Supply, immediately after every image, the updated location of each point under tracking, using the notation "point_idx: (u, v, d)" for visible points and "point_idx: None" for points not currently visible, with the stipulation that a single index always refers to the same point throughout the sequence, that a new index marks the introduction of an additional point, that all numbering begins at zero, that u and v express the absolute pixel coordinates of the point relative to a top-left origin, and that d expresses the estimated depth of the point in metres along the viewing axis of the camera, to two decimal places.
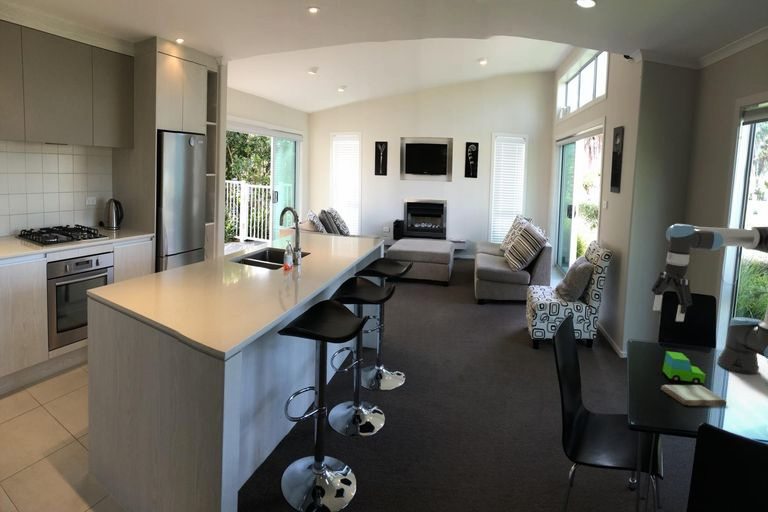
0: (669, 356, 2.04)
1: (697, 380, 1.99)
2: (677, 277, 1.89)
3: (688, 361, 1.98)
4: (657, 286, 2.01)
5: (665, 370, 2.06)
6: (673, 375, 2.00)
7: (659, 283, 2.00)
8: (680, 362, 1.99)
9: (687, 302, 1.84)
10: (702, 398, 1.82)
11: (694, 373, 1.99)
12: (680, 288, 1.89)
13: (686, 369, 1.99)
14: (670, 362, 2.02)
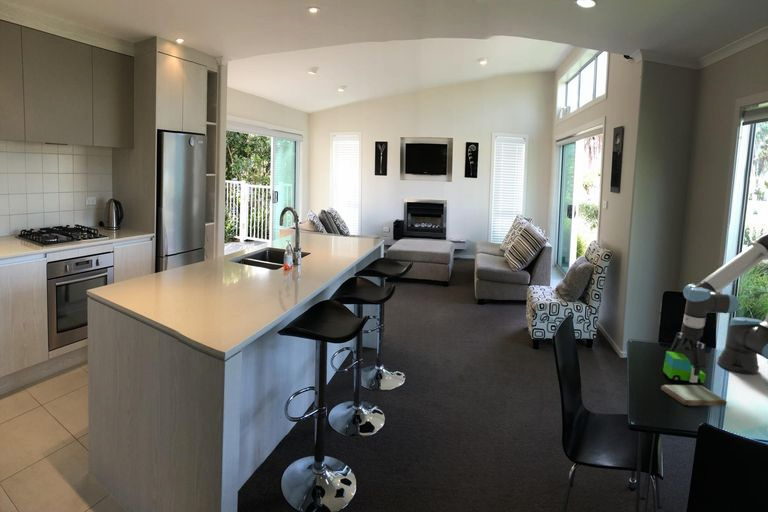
0: (669, 356, 2.03)
1: (697, 380, 1.99)
2: (694, 339, 1.97)
3: (688, 361, 1.98)
4: (674, 346, 2.08)
5: (665, 370, 2.06)
6: (673, 375, 2.00)
7: (676, 343, 2.07)
8: (680, 362, 1.99)
9: (701, 365, 1.93)
10: (702, 398, 1.82)
11: None
12: (695, 350, 1.97)
13: (686, 369, 1.99)
14: (671, 362, 2.02)
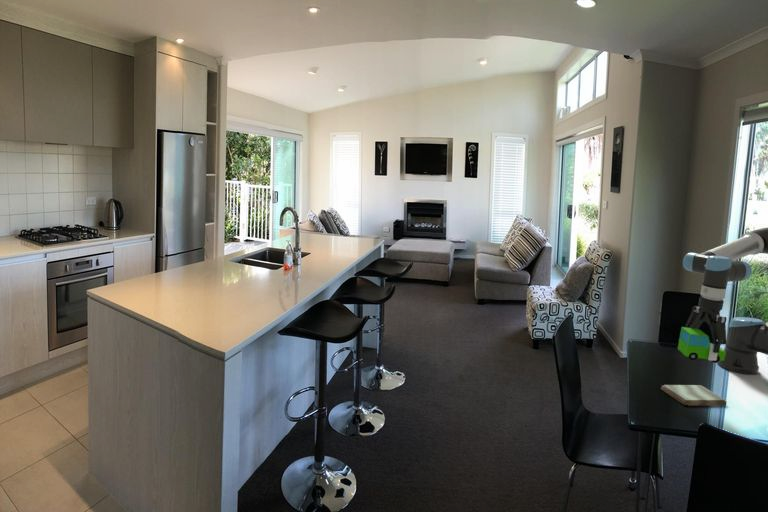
0: (685, 332, 1.84)
1: None
2: (713, 312, 1.78)
3: (707, 337, 1.79)
4: (691, 322, 1.89)
5: (680, 348, 1.87)
6: (690, 353, 1.81)
7: (692, 319, 1.88)
8: (697, 338, 1.80)
9: (721, 341, 1.74)
10: (702, 398, 1.82)
11: None
12: (715, 325, 1.78)
13: (704, 346, 1.80)
14: (687, 338, 1.82)
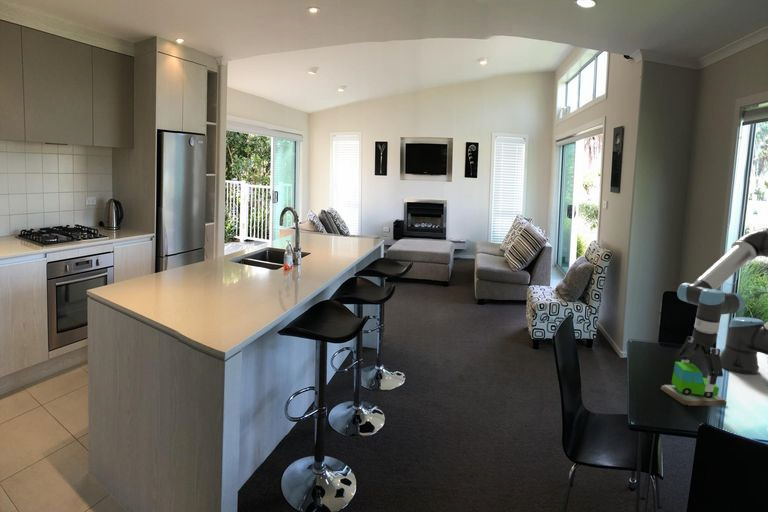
0: (679, 367, 1.87)
1: (709, 394, 1.82)
2: (706, 345, 1.80)
3: (700, 373, 1.82)
4: (683, 350, 1.92)
5: (674, 382, 1.89)
6: (684, 388, 1.84)
7: (686, 348, 1.91)
8: (691, 374, 1.82)
9: (717, 373, 1.75)
10: (702, 398, 1.82)
11: None
12: (709, 357, 1.80)
13: (698, 381, 1.82)
14: (680, 373, 1.85)
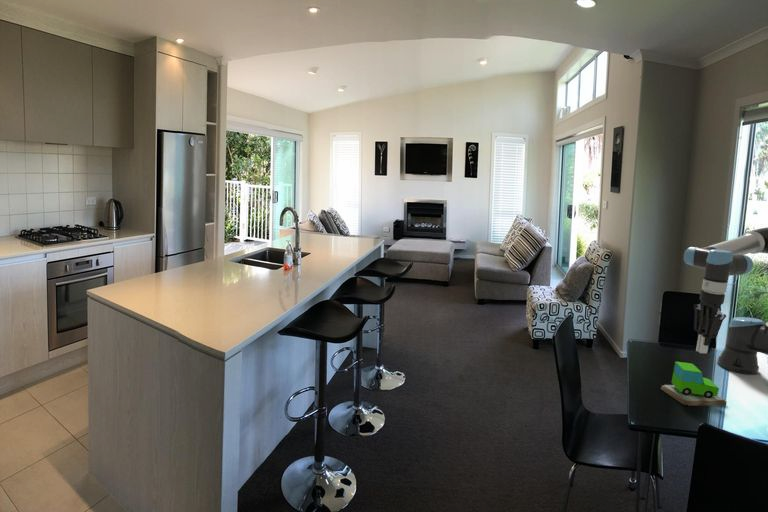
0: (679, 367, 1.87)
1: (709, 394, 1.82)
2: (715, 307, 1.77)
3: (700, 373, 1.82)
4: (698, 322, 1.85)
5: (674, 382, 1.89)
6: (683, 388, 1.84)
7: (698, 318, 1.85)
8: (691, 374, 1.82)
9: None
10: (702, 398, 1.82)
11: (706, 386, 1.82)
12: (712, 319, 1.80)
13: (698, 381, 1.82)
14: (680, 373, 1.85)
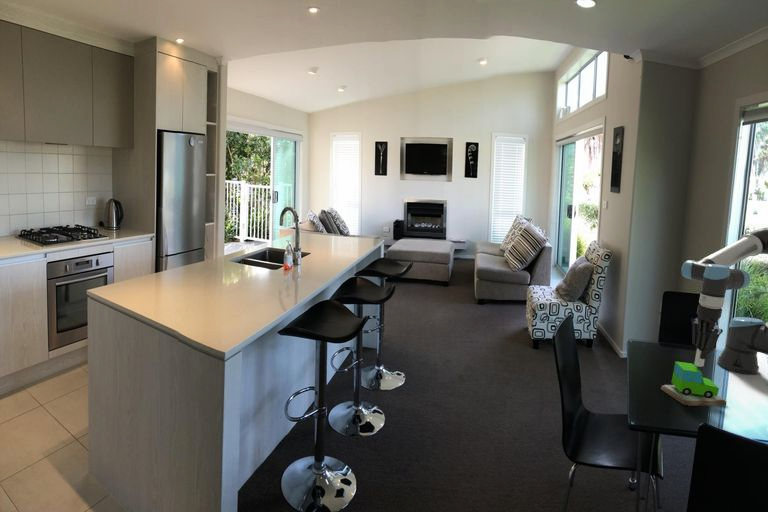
0: (679, 367, 1.87)
1: (709, 394, 1.82)
2: (712, 322, 1.78)
3: (700, 373, 1.82)
4: (696, 336, 1.86)
5: (674, 382, 1.89)
6: (683, 388, 1.84)
7: (696, 332, 1.86)
8: (691, 374, 1.82)
9: None
10: (702, 398, 1.82)
11: (706, 386, 1.82)
12: (709, 333, 1.81)
13: (698, 381, 1.82)
14: (680, 373, 1.85)
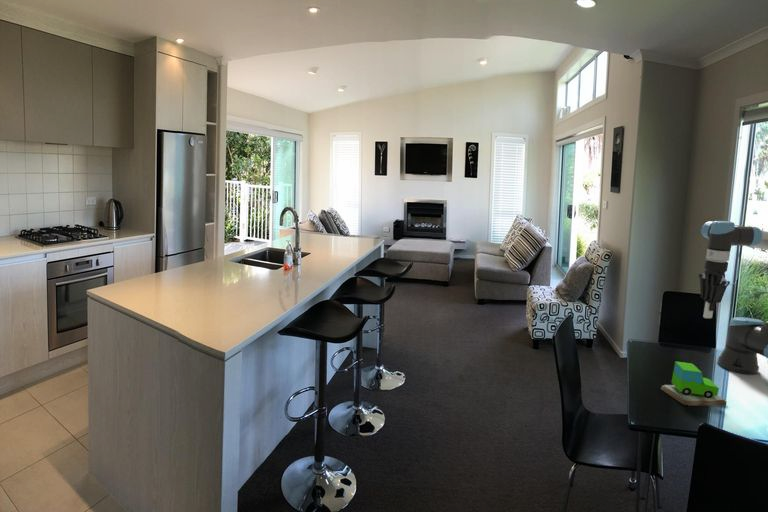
0: (679, 367, 1.87)
1: (709, 394, 1.82)
2: (720, 275, 1.89)
3: (700, 373, 1.82)
4: (704, 290, 1.98)
5: (674, 382, 1.89)
6: (683, 388, 1.84)
7: (704, 286, 1.98)
8: (691, 374, 1.82)
9: None
10: (702, 398, 1.82)
11: (706, 386, 1.82)
12: (716, 286, 1.92)
13: (698, 381, 1.82)
14: (680, 373, 1.85)
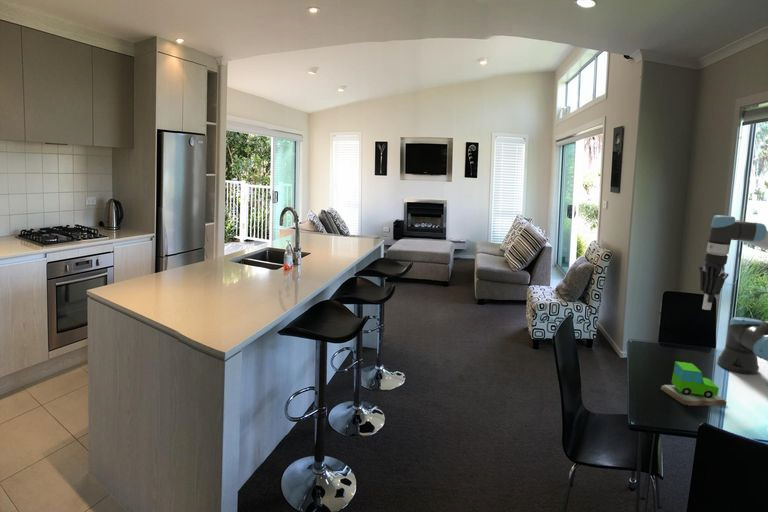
0: (679, 367, 1.87)
1: (709, 394, 1.82)
2: (719, 267, 1.96)
3: (700, 373, 1.82)
4: (704, 282, 2.04)
5: (674, 382, 1.89)
6: (683, 388, 1.84)
7: (704, 279, 2.04)
8: (690, 373, 1.82)
9: None
10: (702, 398, 1.82)
11: (706, 386, 1.82)
12: (715, 279, 1.99)
13: (698, 381, 1.82)
14: (680, 373, 1.85)
